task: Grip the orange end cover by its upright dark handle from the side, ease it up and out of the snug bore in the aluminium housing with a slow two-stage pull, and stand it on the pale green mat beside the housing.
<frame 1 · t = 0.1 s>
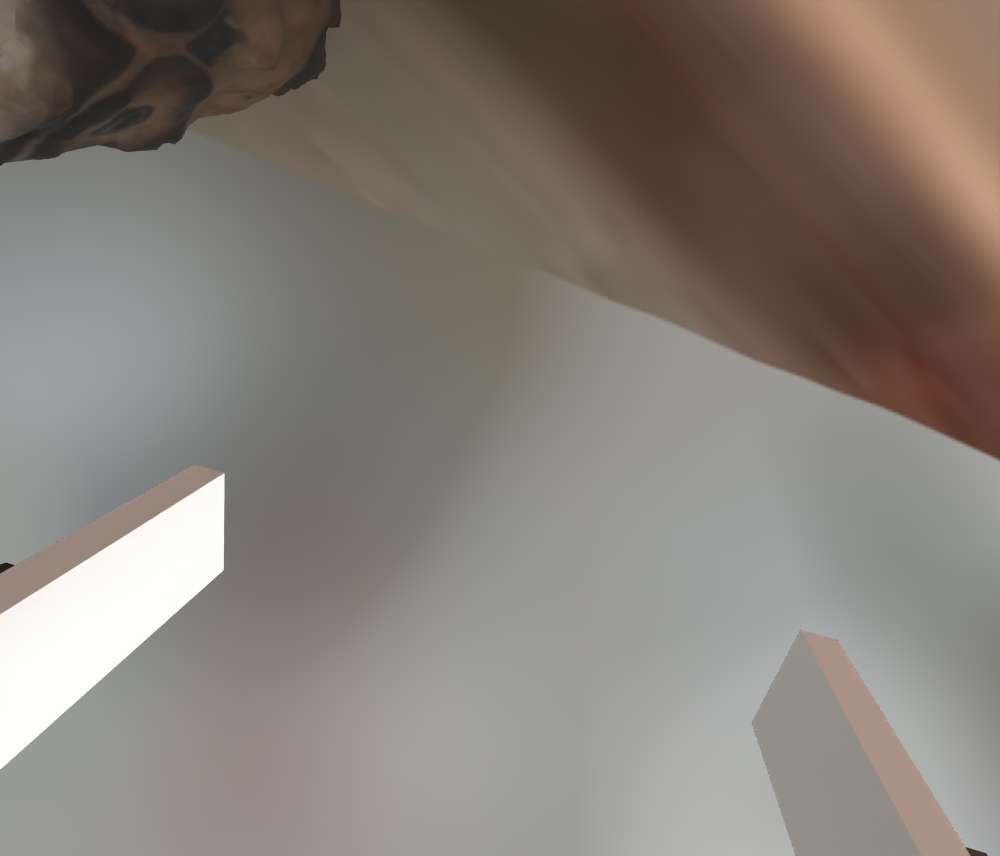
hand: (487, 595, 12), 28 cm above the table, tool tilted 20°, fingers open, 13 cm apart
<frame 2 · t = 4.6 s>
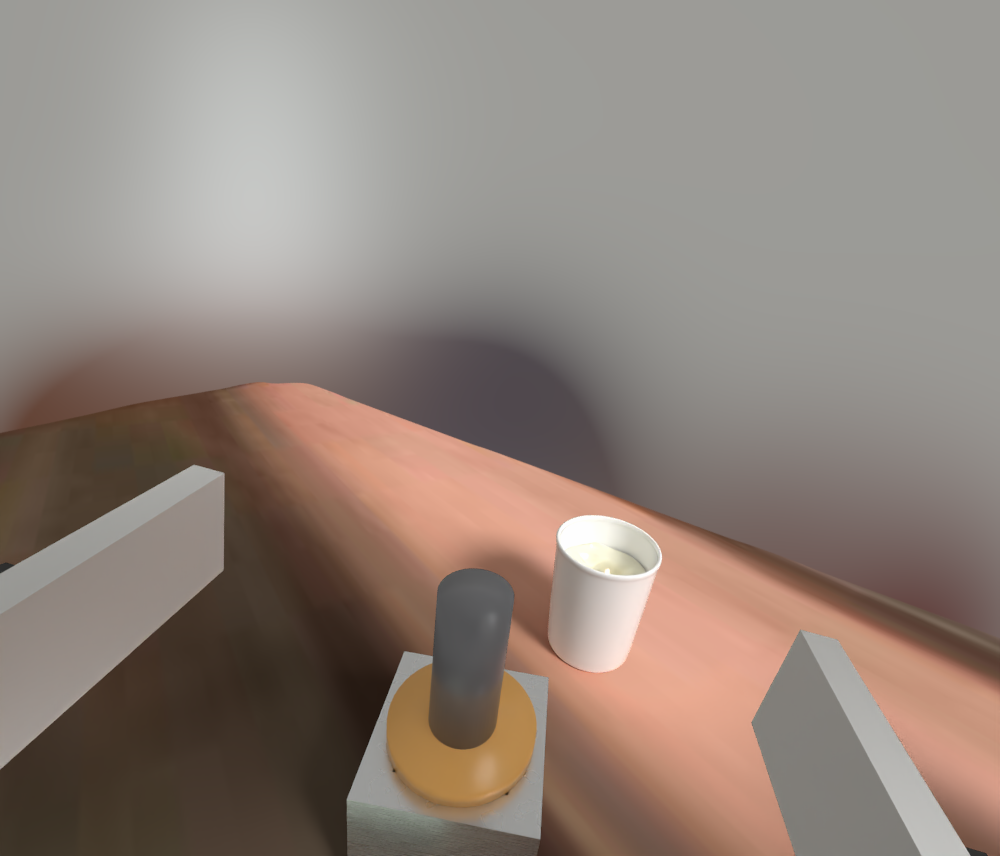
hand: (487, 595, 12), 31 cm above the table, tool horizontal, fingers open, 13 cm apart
candle holder: (587, 642, 53), on the table
housing: (452, 808, 37), on the table
end cover: (454, 790, 36), point 2 cm above the table, touching housing
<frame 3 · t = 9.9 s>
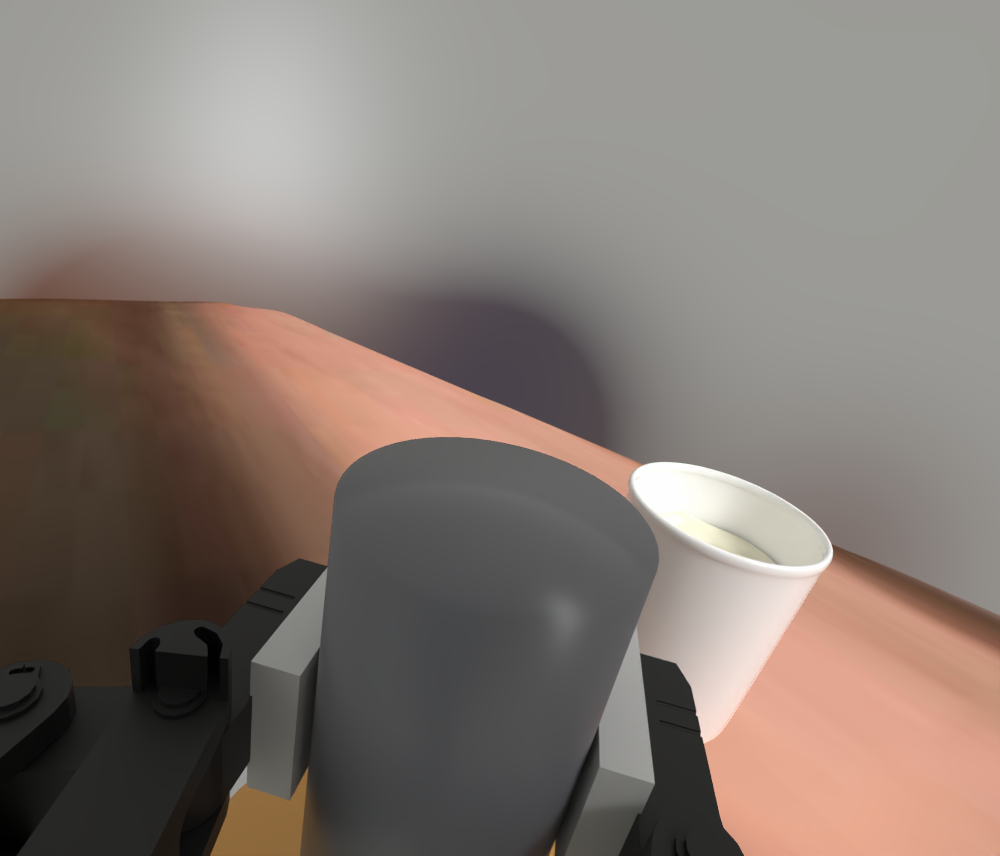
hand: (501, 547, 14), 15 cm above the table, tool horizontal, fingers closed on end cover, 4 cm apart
candle holder: (652, 684, 31), on the table
when the fingers open (16 cm above the table, at t = 18.0 s): end cover drops 1 cm, resting on mat.
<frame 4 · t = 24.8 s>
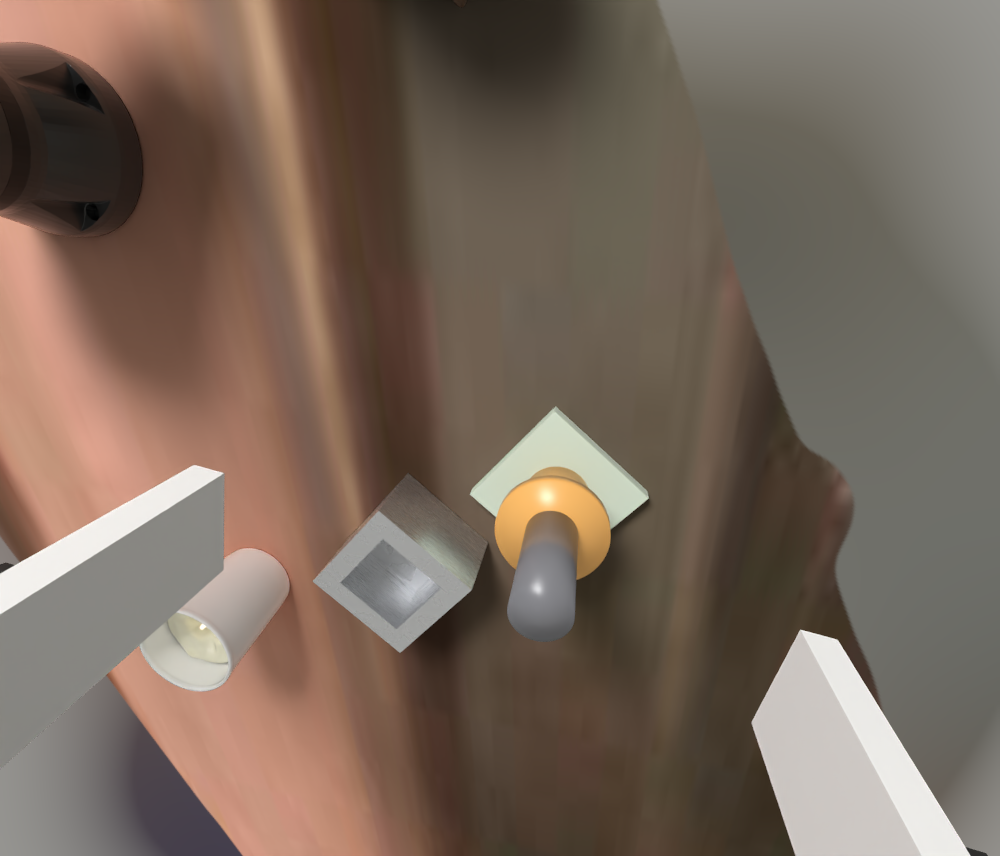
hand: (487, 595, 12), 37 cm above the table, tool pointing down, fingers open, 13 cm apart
candle holder: (258, 576, 61), on the table
housing: (416, 539, 56), on the table
end cover: (557, 495, 50), point 1 cm above the table, touching mat
mat: (557, 489, 51), on the table
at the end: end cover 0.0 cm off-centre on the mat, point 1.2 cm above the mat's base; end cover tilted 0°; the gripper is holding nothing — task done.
